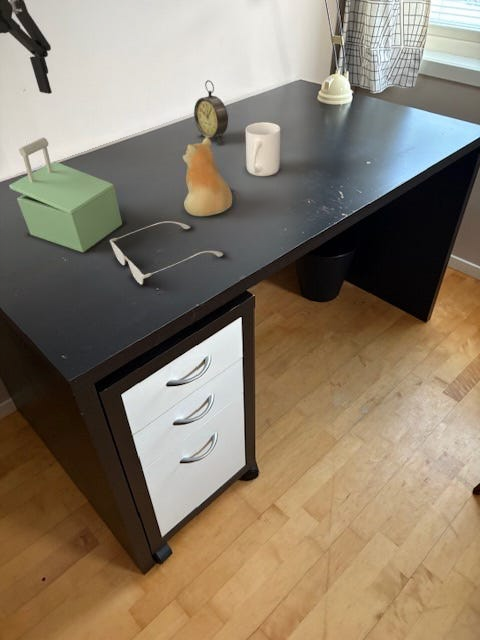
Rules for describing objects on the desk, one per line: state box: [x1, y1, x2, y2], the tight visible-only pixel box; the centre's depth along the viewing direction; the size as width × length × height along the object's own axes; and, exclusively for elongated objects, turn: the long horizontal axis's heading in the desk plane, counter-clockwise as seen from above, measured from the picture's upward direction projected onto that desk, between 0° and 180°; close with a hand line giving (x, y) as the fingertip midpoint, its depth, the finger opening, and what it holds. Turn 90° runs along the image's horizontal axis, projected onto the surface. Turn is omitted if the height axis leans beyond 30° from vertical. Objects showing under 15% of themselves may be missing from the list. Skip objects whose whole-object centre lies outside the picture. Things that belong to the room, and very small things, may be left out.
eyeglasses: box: [109, 220, 224, 285], centre depth 95 cm, size 15×18×4 cm
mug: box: [245, 122, 281, 177], centre depth 120 cm, size 9×12×11 cm
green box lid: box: [8, 137, 115, 214], centre depth 96 cm, size 17×13×8 cm
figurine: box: [182, 137, 233, 217], centre depth 107 cm, size 12×13×15 cm
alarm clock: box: [193, 79, 229, 145], centre depth 136 cm, size 11×5×16 cm, turn 42°
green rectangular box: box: [16, 187, 123, 253], centre depth 103 cm, size 16×13×9 cm
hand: (20, 102), depth 94 cm, fingers open, 13 cm apart
